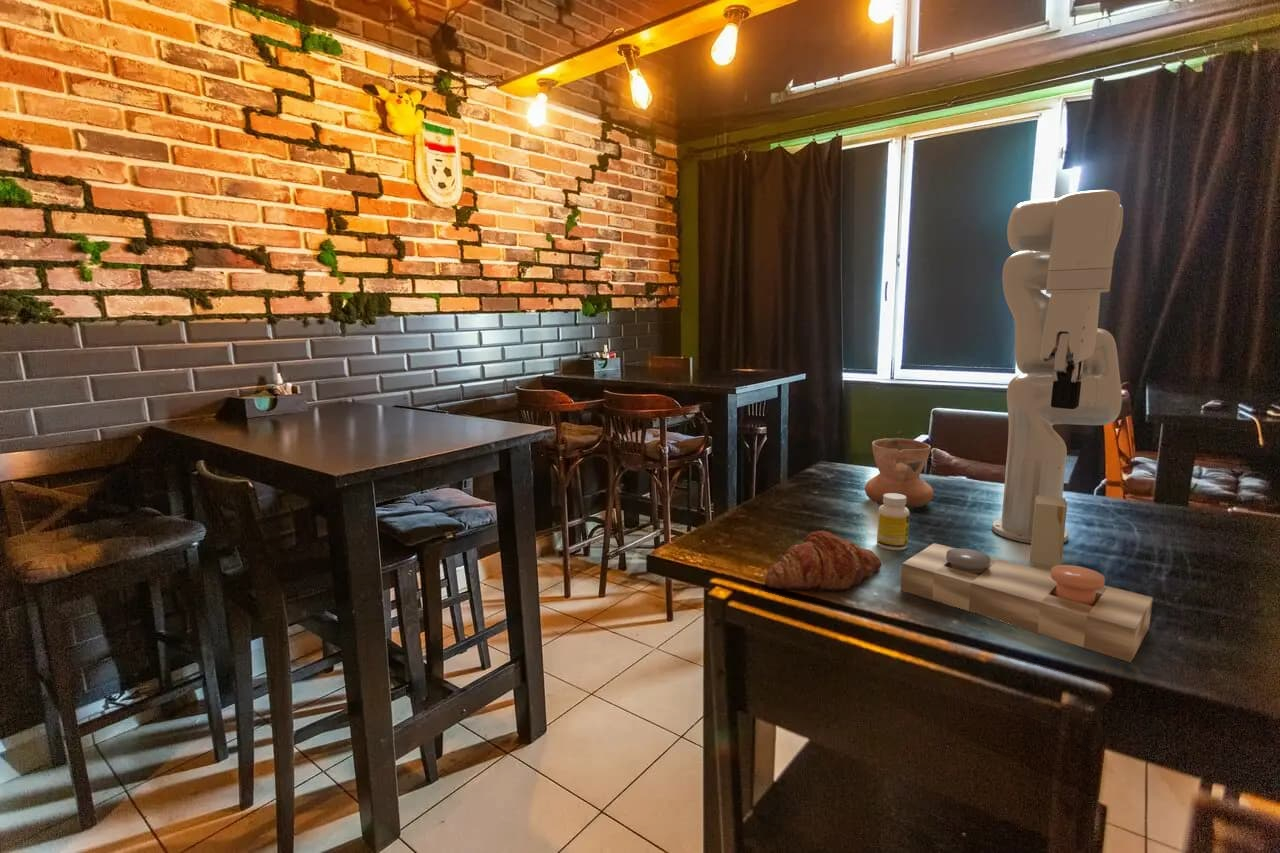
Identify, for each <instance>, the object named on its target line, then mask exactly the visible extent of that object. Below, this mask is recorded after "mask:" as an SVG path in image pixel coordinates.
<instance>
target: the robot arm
mask: <svg viewBox="0 0 1280 853" xmlns="http://www.w3.org/2000/svg"><path fill="white" fill-rule="evenodd" d="M1008 218H1009V219H1008V221H1007V230H1006V232H1007V233H1006V234H1007V236H1006V237H1007V242H1008V245H1009V247H1010V250H1012V251H1013V252H1015V253H1013V254H1011V255H1010V256H1009V257H1007V259H1006V260H1005V262H1004V264H1003V267H1002V273H1001V274H1002V276H1001V277H1002V289H1003V294H1004V299H1005V300H1006V304H1007V306H1008V308H1009V310H1010V313H1011V315H1012V317H1013V320H1014V349H1015V350H1014V351H1015V353H1014V354H1015V356H1014V357H1015V362H1016V367H1017V369H1018V370H1019V371H1020V372H1021V374H1019V375H1016V376H1015V377H1013V378H1012V379H1011V380H1010V382H1009V383H1008V385H1007V389H1006V404H1007V416H1008V433H1007V434H1008V438H1007V439H1008V440H1007V450H1006V452H1007V453H1006V462H1005V463H1006V464H1005V476H1004V486H1003V499H1002V509H1001V510H1002V511H1001V518H998V519H995V520H993V522H992V524H991V529H992V531H993V532H994V533H995V534H997V535H999V536H1000V537H1004V538H1005V539H1009V540H1011V541H1016V542H1020V543H1026V544H1031V539H1032V528H1033V517H1034V505H1035V495H1041V496H1050V497H1058V498H1063V494H1064V493H1063V492H1064V487H1065V486H1064V484H1065V476H1066V474H1065V473H1066V468H1067V467H1066V465H1067V455H1068V449H1067V448H1068V447H1067V445H1066V443H1065V440H1064V439H1063V438H1062V437H1061V435H1060V434H1058V432H1057V431H1056V430H1055V429H1054V428H1053V426H1054V425H1077V426H1078V425H1079V426H1081V425H1082V426H1083V425H1085V426H1103V425H1104V426H1105V425H1109V424H1111V423H1113V422H1115V421H1116V420H1117V418H1119V416H1120V414H1121V411H1122V404H1123V397H1122V396H1123V395H1122V383H1121V382H1122V381H1121V375H1120V365H1119V358H1118V349H1117V343H1116V341H1115V338H1114V336H1113V335H1112V334H1111V333H1110V332H1109V331H1108V330H1106V329H1104V328H1099V327H1098V326H1099V315H1100V306H1101V303H1100V302H1101V293H1109V292H1110V290H1111V283H1112V281H1111V280H1112V273H1113V265H1114V257H1115V252H1116V249H1117V246H1118V243H1119V239H1120V237H1121V233H1122V230H1123V224H1124V223H1123V221H1124V207H1123V205H1122V204H1121V197H1120V194H1119V193H1118V192H1116V191H1115V190H1112V189H1111V190H1110V189H1095V190H1084V191H1083V190H1082V191H1078V192H1077V191H1076V192H1072V193H1067V194H1064V195H1062V196H1060V197H1056V198H1045V199H1035V200H1026V201H1023V202H1019V203H1018V204H1017V205H1015V207H1013V209H1012V211H1011V213H1010V216H1009V217H1008ZM1042 291H1045V293H1044V292H1042ZM1047 294H1050V296H1048V295H1047ZM1068 540H1069V532H1068V531H1067V530H1066V529H1065V532H1064V542H1063V544H1064V543H1066V542H1067V541H1068Z"/></svg>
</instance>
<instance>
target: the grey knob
mask: <svg viewBox="0 0 1280 853" xmlns="http://www.w3.org/2000/svg"><path fill="white" fill-rule="evenodd" d="M990 557H991V556H989V555H988V554H986V553H985V552H981V551H978V550H976V549H975V550H974V549H971V548H970V549H969V548H962V547H961V548H956V549H951V550H948V551H947V554H946V560H947V561H948V562H949V563H950V564H952V565H951V568H953V569H957V570H961V571H964V572H968V573H972V574H975V575H979V576H980V575H981V574H982V573H983V571H984V569H987V568H989V567H990V560H991V559H990Z"/></svg>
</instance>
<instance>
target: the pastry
mask: <svg viewBox="0 0 1280 853" xmlns="http://www.w3.org/2000/svg"><path fill="white" fill-rule="evenodd" d="M881 568H882V561H881V559H880V557H878V555H876V553H875V552H873V550H871V549H867V548H863V547H860V546H859V545H857V544H855V543H854V542H852V541H849V540H847V539H843V538H840V537H839V536H837V535H835V534H833V533H831V532H829V531H826V530H817V531H815V530H814V531H812V532H810V533H809V534H807V535H806V537H805V539H804V540H803V542H802V543H800V544H793V545H791V546H789V547H788V549H787V551H786V552H785V554H784V555H783V556H782V557H781V558H780V560H779V561H778V562H776V563H774V564H772V565H771V566H770V567H769V569H768V571H767V574H766V576H765V580H764V583H765V585H766V586H767V587H768V588H770V589H776V590H796V591H811V590H817V591H830V592H847V591H849V590H850V589H852V588H856V587H857V586H859V585H861V584H860V583H861V582H862V581H863V580H868V579H869V578H871V576H872V575H875V574H877V572H879V570H881Z"/></svg>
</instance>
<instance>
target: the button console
mask: <svg viewBox="0 0 1280 853" xmlns="http://www.w3.org/2000/svg"><path fill="white" fill-rule="evenodd" d="M951 549H957V547H956V548H955V547H952V546H947V545H944V544H939V543H936V542H933V543H931V544H930V545H928V546H927V547H925V548H924V549H923V550H921V551H919V552H918V553H916V554H915V555H913V556H911V557H910V558H908V559H906V560H905V561H904V562H902V563H901V576H900V577H901V579H900V591H904V592H906V593H909V594H913V595H916V596H918V597H921V598H924V599H927V600H930V601H935V602H938V603H940V602H941V604H944V605H947V606H950V607H954V608H956V607H957V609H959V608H960V610H963V609H964V610H963V611H966V610H967V611H966V612H969V611H970V613H972V612H973V614H975V613H977V614H976V615H979V614H980V615H979V616H982V615H983V617H985V616H988V617H991V618H994V619H997V620H996V621H998V620H1001V621H1003V622H1002V623H1004V622H1006V623H1005V624H1007V623H1009V624H1008V625H1010V624H1012V625H1011V626H1013V625H1015V626H1014V627H1017V626H1018V627H1017V628H1020V627H1021V628H1020V629H1023V628H1024V630H1026V629H1027V630H1026V631H1029V630H1030V631H1029V632H1033V633H1036V634H1038V635H1041V636H1042V635H1043V636H1046V637H1048V638H1052V639H1055V640H1058V641H1061V642H1064V643H1068V644H1071V645H1074V646H1077V647H1080V648H1083V649H1087V650H1090V651H1093V652H1096V653H1100V654H1103V655H1106V656H1108V657H1112V658H1115V659H1118V660H1122V661H1124V662H1128V663H1132V661H1133V659H1134V657H1135V655H1136V654H1137V652H1138V651H1139V648H1140V646H1141V644H1142V642H1143V641H1144V638H1145V636H1146V634H1147V632H1148V630H1149V627H1150V622H1151V615H1152V608H1153V599H1154V598H1153V596H1149V595H1144V594H1141V593H1137V592H1133V591H1129V590H1124V589H1120V588H1118V587H1112V586H1108V585H1105V584H1104V587H1103V588H1102V589H1099V590H1096V595H1095V603H1094V607H1093V606H1089V605H1086V604H1082V603H1078V602H1075V601H1071V600H1067V599H1064V598H1060V597H1056V587H1057V582H1056V581H1054V580H1053V579H1052V578H1051V572H1049V571H1045V570H1041V569H1037V568H1033V567H1029V566H1028V565H1023V564H1020V563H1016V562H1012V561H1007V560H1004V559H1000V558H995V557H992V556H989V557H990V559H991V560H990V567H989V568H987V569H984V571H983V573H982V574H981V575H980V576H979V575H975V574H972V573H968V572H964V571H961V570H957V569H953V568H951V565H952V564H950V563H949V562H948V561H947V560H946V554H947V551H948V550H951ZM988 617H987V618H988ZM991 618H990V619H991ZM994 619H993V620H994ZM1001 621H1000V622H1001Z"/></svg>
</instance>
